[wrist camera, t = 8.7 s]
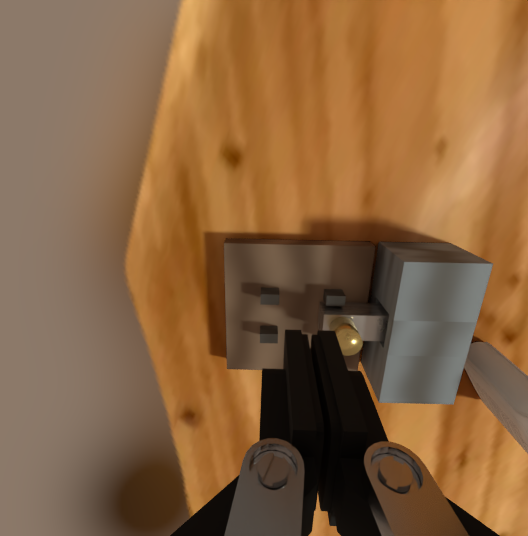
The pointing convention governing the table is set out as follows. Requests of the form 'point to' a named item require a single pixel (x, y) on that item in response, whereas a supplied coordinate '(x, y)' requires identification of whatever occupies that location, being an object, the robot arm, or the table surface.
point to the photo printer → (500, 388)
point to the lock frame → (356, 291)
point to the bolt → (354, 324)
